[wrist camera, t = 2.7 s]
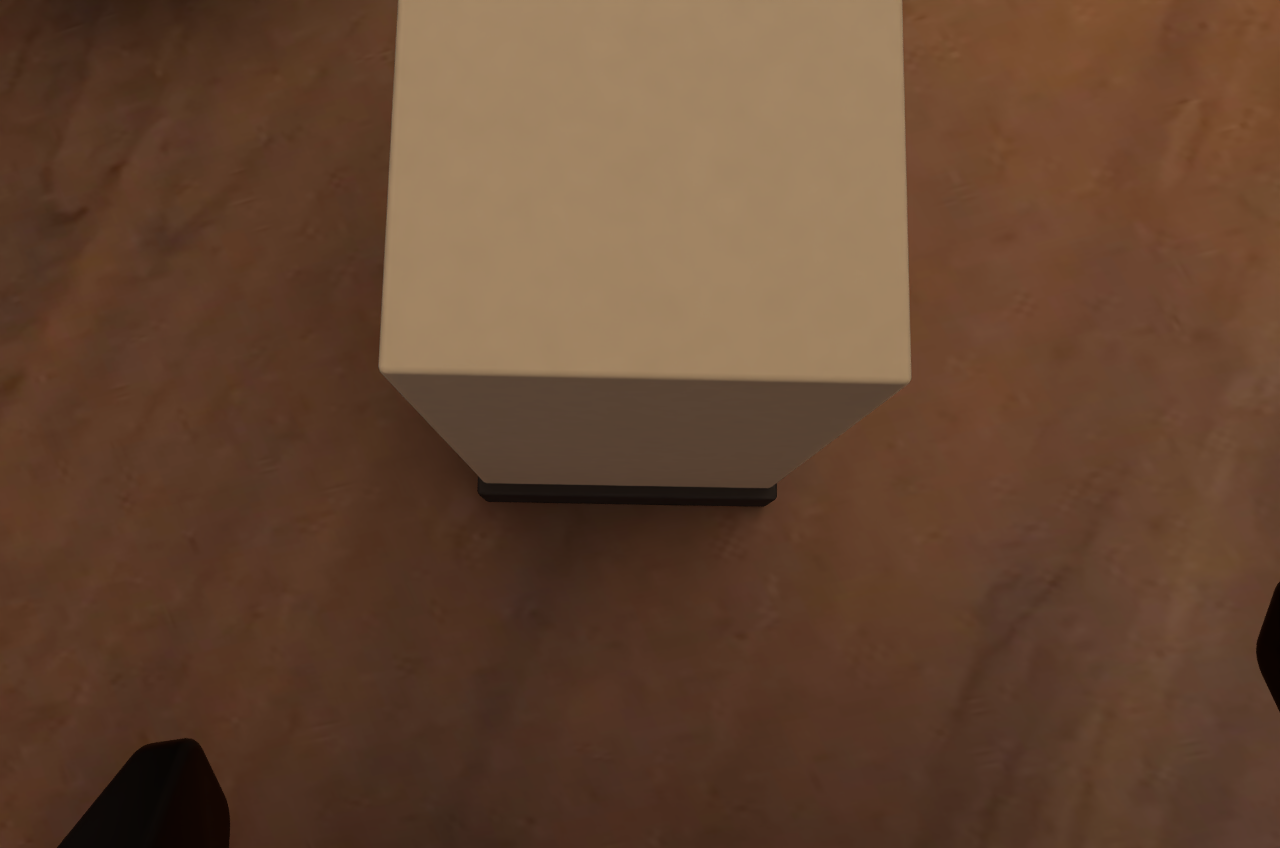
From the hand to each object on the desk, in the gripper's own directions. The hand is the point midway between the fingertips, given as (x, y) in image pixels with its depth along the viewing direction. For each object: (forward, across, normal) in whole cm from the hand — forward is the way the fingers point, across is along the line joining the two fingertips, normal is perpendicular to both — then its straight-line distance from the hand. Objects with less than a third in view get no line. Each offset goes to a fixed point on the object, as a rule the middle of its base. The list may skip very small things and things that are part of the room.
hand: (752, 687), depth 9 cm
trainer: (+14, 0, +3) cm, 15 cm away
